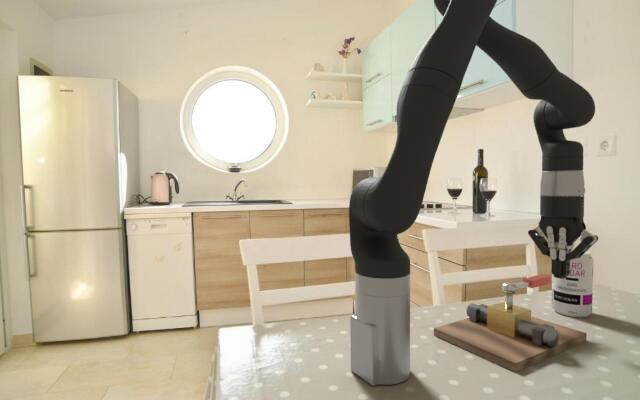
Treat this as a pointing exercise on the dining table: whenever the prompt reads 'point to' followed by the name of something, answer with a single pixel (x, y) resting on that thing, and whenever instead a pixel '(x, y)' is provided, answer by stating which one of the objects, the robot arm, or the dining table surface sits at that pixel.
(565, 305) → the supplement can
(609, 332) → the dining table surface
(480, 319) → the pipe valve
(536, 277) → the valve lever
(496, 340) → the valve board
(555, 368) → the dining table surface
